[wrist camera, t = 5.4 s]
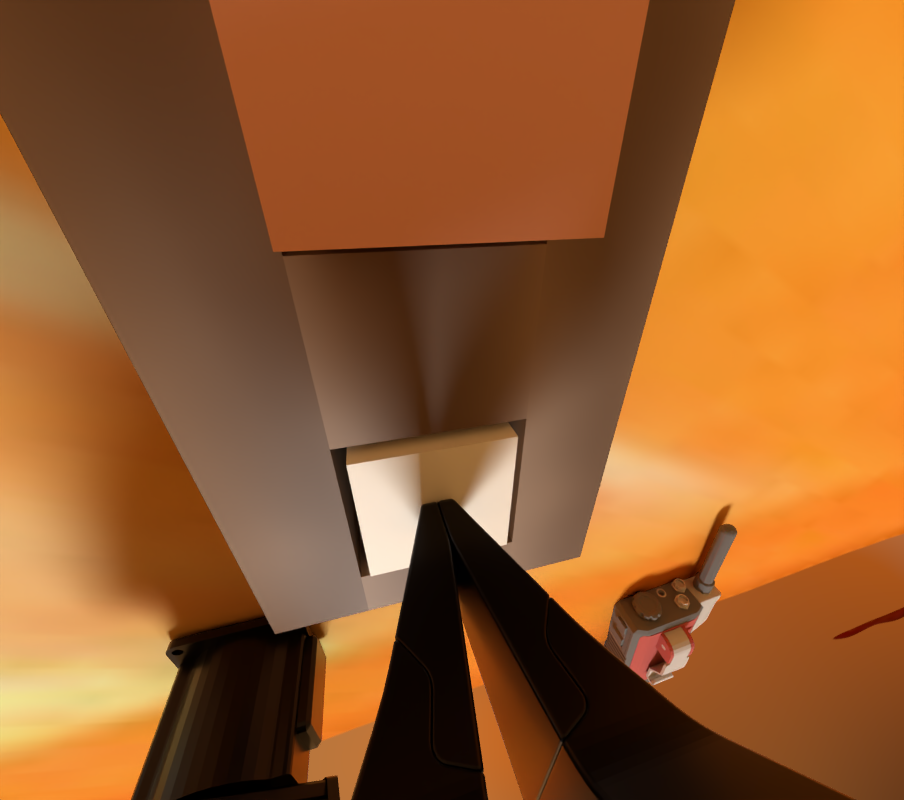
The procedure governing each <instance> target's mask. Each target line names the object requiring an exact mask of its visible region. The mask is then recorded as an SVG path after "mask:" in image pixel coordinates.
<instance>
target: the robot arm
mask: <svg viewBox="0 0 904 800" xmlns="http://www.w3.org/2000/svg"><path fill="white" fill-rule="evenodd" d="M462 620H463V623H464V626H465V629H466V632H467V635H468V638H469V641H470V644H471V647H472V650H473V653H474V656H475V659H476V662H477V664H478V667H479V670H480V673H481V676H482V679H483V682H484V685H485V688H486V691H487V694H488V697H489V700H490V703H491V705H492V708H493V711H494V714H495V717H496V720H497V723H498V726H499V729H500V732H501V735H502V738H503V740H504V744H505V747H506V749H507V753H508V755H509V759H510V761H511V764H512V767H513V770H514V773H515V776H516V779H517V782H518V785H519V788H520V791H521V794H522V796H523V800H856V799H854V798H851V797H849V796H847V795H845V794H843V793H841V792H839V791H837V790H835V789H833V788H831V787H828V786H826V785H824V784H822V783H820V782H818V781H816V780H814V779H811V778H810V777H807V776H805V775H803V774H801V773H799V772H797V771H795V770H793V769H791V768H788V767H786V766H784V765H782V764H780V763H778V762H776V761H774V760H771V759H770V758H767V757H765V756H763V755H761V754H759V753H757V752H755V751H753V750H751V749H749V748H746V747H744V746H742V745H740V744H738V743H736V742H734V741H732V740H730V739H728V738H726V737H724V736H722V735H720V734H718V733H716V732H714V731H712V730H711V729H709V728H707V727H705V726H704V725H702V724H700V723H699V722H698V721H696V720H694V719H693V718H691V717H690V716H689V715H687V714H686V713H685V712H683V711H682V710H680V709H679V708H678V707H676V706H675V705H674V704H673V703H672V702H670V701H669V700H668V699H667V698H666V697H664V696H663V695H662V694H661V693H660V692H658V691H657V690H656V689H655V688H654V687H652V686H651V685H650V684H648V683H647V682H646V681H645V680H644V679H643V678H641V677H640V676H639V675H638V674H637V673H635V672H634V671H633V670H632V669H631V668H629V667H628V666H627V665H626V664H625V663H623V662H622V661H621V660H620V659H619V658H617V657H616V656H615V655H614V654H613V653H611V652H610V651H609V650H608V649H607V648H605V647H604V646H603V645H602V644H601V643H600V642H599V641H597V640H596V639H595V638H594V637H593V636H592V635H590V634H589V633H588V632H587V631H586V630H585V629H584V628H583V627H582V626H581V625H579V624H578V623H577V622H576V621H575V620H574V619H573V618H572V617H571V616H570V615H569V614H568V613H567V612H566V611H565V610H564V609H563V608H562V607H561V606H560V605H559V604H558V603H557V602H556V601H555V600H554V599H553V598H549V594H548V593H547V592H546V591H545V590H544V589H543V588H542V587H541V586H540V585H539V584H538V583H537V582H536V581H535V580H534V579H533V578H532V577H531V576H530V575H529V574H528V573H527V572H526V571H525V570H524V569H523V568H522V567H521V566H520V565H519V564H518V563H517V562H516V561H515V560H514V559H513V558H512V557H511V556H510V555H509V554H508V553H507V552H506V551H505V550H504V549H503V548H502V547H501V546H500V545H499V544H498V543H497V542H496V541H495V540H494V539H493V538H492V537H491V536H490V535H489V534H488V533H487V532H486V531H485V530H484V529H483V528H482V527H481V526H480V525H479V524H478V523H477V522H476V521H475V520H474V519H473V518H472V517H471V516H470V515H469V514H468V513H467V512H466V511H465V510H464V509H463V508H462V507H461V506H460V505H459V504H458V503H457V502H456V501H455V500H454V499H446V500H441V501H439V502H438V504H437V502H431V503H426V504H423V505H422V506H421V509H420V514H419V519H418V524H417V529H416V534H415V540H414V545H413V550H412V555H411V560H410V565H409V570H408V575H407V580H406V585H405V591H404V596H403V601H402V606H401V611H400V616H399V621H398V626H397V631H396V636H395V640H396V641H395V642H394V645H393V650H392V656H391V661H390V665H389V670H388V674H387V678H386V683H385V687H384V692H383V695H382V699H381V702H380V706H379V710H378V713H377V717H376V720H375V724H374V727H373V731H372V734H371V737H370V741H369V744H368V747H367V750H366V753H365V757H364V760H363V763H362V766H361V770H360V773H359V776H358V779H357V783H356V786H355V789H354V792H353V796H352V799H351V800H488V796H487V789H486V782H485V776H484V774H483V762H482V755H481V748H480V741H479V734H478V727H477V721H476V713H475V707H474V700H473V693H472V686H471V679H470V672H469V665H468V658H467V651H466V644H465V638H464V631H463V624H462ZM166 655H167V657H168V658H169V659H170V660H171V661H172V662H173V663H174V664H175V665H176V667H177V668H178V669H179V670H178V672H177V675H176V678H175V681H174V683H173V686H172V689H171V692H170V694H169V697H168V700H167V702H166V705H165V708H164V711H163V713H162V716H161V719H160V722H159V724H158V727H157V730H156V732H155V735H154V738H153V741H152V743H151V746H150V749H149V752H148V754H147V757H146V760H145V763H144V765H143V768H142V771H141V773H140V776H139V779H138V782H137V784H136V787H135V790H134V793H133V795H132V798H131V800H340V797H339V787H338V777H337V776H330V777H325V778H324V779H323V780H321V781H314V782H307V779H308V765H309V752H310V750H312V749H314V748H317V747H318V746H319V744H320V742H321V740H322V724H323V705H324V687H325V669H326V656H325V654H324V651H323V649H322V647H321V644H320V642H319V639H318V638H317V637H316V636H315V635H313V634H312V632H311V630H310V627H309V626H306V627H302V628H298V629H294V630H290V631H286V632H282V633H278V634H275V633H274V631H273V629H272V627H271V625H270V624H269V622H268V620H267V618H266V617H265V618H261V619H257V620H253V621H249V622H245V623H241V624H237V625H232V626H228V627H224V628H220V629H216V630H212V631H208V632H204V633H200V634H196V635H191V636H187V637H183V638H179V639H176V640H173V641H172V642H170V644H169V646H168V649H167V651H166Z"/></svg>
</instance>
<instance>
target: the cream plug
mask: <svg viewBox="0 0 904 800" xmlns="http://www.w3.org/2000/svg"><path fill="white" fill-rule="evenodd" d="M517 442H518V436H517V434H516V433H515V431H514V430H513V429H512V427H511V426H510V424H509V423H508V422H503V423H497V424H490V425H484V426H478V427H471V428H465V429H458V430H452V431H446V432H439V433H433V434H427V435H420V436H414V437H408V438H401V439H395V440H389V441H382V442H376V443H369V444H363V445H357V446H350V447H347V456H346V466H347V471H348V475H349V480H350V484H351V489H352V494H353V498H354V503H355V507H356V512H357V516H358V521H359V525H360V530H361V535H362V539H363V544H364V548H365V553H366V557H367V562H368V566H369V571H370V576H375V575H379V574H383V573H388V572H392V571H396V570H400V569H405V568H409V565H410V560H411V555H412V550H413V545H414V540H415V534H416V529H417V524H418V519H419V514H420V509H421V506H422V505H423V504H426V503H431V502H437V504H438V502H439V501H441V500H446V499H454V500H455V501H456V502H457V503H458V504H459V505H460V506H461V507H462V508H463V509H464V510H465V511H466V512H467V513H468V514H469V515H470V516H471V517H472V518H473V519H474V520H475V521H476V522H477V523H478V524H479V525H480V526H481V527H482V528H483V529H484V530H485V531H486V532H487V533H488V534H489V535H490V536H491V537H492V538H493V539H494V540H495V541H496V542H497V543H498V544H499V545H500V546H503V545H507V537H508V528H509V518H510V509H511V499H512V490H513V480H514V471H515V461H516V452H517Z"/></svg>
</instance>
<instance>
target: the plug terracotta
mask: <svg viewBox="0 0 904 800" xmlns="http://www.w3.org/2000/svg"><path fill="white" fill-rule="evenodd" d="M209 2H210V6H211V10H212V14H213V18H214V22H215V26H216V30H217V34H218V38H219V42H220V46H221V49H222V53H223V57H224V61H225V65H226V69H227V73H228V77H229V81H230V85H231V89H232V93H233V96H234V100H235V104H236V108H237V112H238V116H239V120H240V124H241V128H242V132H243V136H244V140H245V143H246V147H247V151H248V155H249V159H250V163H251V167H252V171H253V175H254V179H255V183H256V187H257V190H258V194H259V198H260V202H261V206H262V210H263V214H264V218H265V222H266V226H267V230H268V234H269V237H270V241H271V245H272V249H273V252H285V251H308V250H331V249H354V248H378V247H401V246H424V245H447V244H470V243H493V242H516V241H539V240H562V239H585V238H604V235H605V230H606V224H607V219H608V214H609V209H610V204H611V198H612V193H613V188H614V183H615V178H616V172H617V167H618V162H619V157H620V151H621V146H622V141H623V136H624V131H625V125H626V120H627V115H628V110H629V105H630V99H631V94H632V89H633V84H634V79H635V73H636V68H637V63H638V58H639V53H640V47H641V42H642V37H643V32H644V27H645V21H646V16H647V11H648V6H649V0H209Z"/></svg>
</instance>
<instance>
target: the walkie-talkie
mask: <svg viewBox="0 0 904 800" xmlns="http://www.w3.org/2000/svg"><path fill="white" fill-rule="evenodd" d="M736 535H737V530H736V528H735V527H734V526H732V525H730V524H724V525H721V526H720V527H719V529H718V532H717V534H716V536H715V538H714V541H713V543H712V545H711V547H710V549H709V552H708V554H707V556H706V558H705V561H704V563H703V565H702V567H701V570H700V572H698V573H697V574H696V575H695V576H693V577H691V578H688V579H685V580H682V579H678V578H677V579H675V580H674V581H673V582H671V583H668V584H665V585H662V586H659V587H657V588H654V589H651V590H648V591H645V592H637V594H635V595H634V596H631V597H628V598H626V599H623V600H620V601H618V602H617V603H616V604H615V605H614V610H613V614H612V618H611V622H610V626H609V632H608V635H607V636H608V637H607V640H605V644H604V647H605V648H607V649H608V650H609V651H610V652H611V653H613V654H614V655H615V656H616V657H617V658H619V659H620V660H621V661H622V662H623V663H625V664H626V665H627V666H628V667H629V668H631V669H632V670H633V671H634V672H635V673H637V674H638V675H639V676H640V677H641V678H643V679H644V680H645V681H646V682H650V683H651V685H655V684H657V683H660V682H662V681H665V680H667V679H670V678H672V677H673V675H672V673H671V672H673V671H675V670H678V669H680V668H683V667H684V666H685V665H686V663H687V661H688V659H689V657H688V656H689V655H691V653H692V652H693V650H694V642H693V639H692V637H691V635H690V633H691V632H692V631H694V630H695V629H696V628H697V627H698V626H700V625H701V624H702V623H703V622H704V621H706V619H707V617H708V615H709V614H710V612H711V610H712V608H713V606H714V604H715V602H716V601H717V600H718V599H719V598H720V596H721V592H720V591H719V590H718V589H717V588H716V587H715V586H714V584H715V581H714V579H715V577H716V575H717V573H718V571H719V569H720V567H721V565H722V563H723V561H724V559H725V557H726V555H727V553H728V551H729V549H730V547H731V545H732V543H733V541H734V539H735V537H736Z"/></svg>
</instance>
